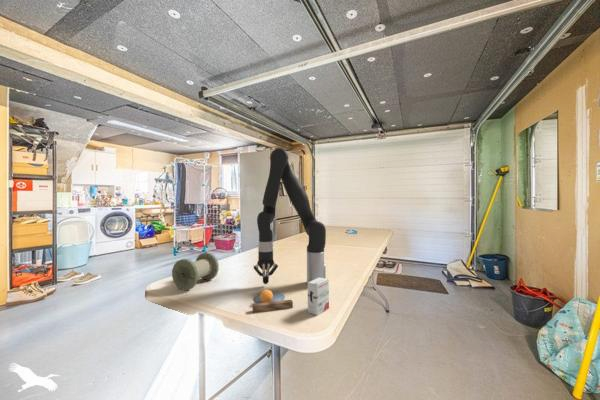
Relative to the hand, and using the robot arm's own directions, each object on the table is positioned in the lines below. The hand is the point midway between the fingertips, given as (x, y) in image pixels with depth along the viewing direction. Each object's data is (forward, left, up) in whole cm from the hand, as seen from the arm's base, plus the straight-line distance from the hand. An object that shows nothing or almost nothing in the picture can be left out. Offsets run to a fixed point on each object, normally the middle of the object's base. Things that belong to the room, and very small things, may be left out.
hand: (265, 283), depth 114 cm
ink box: (-18, +31, -2) cm, 35 cm away
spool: (+35, -13, -2) cm, 37 cm away
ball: (+2, +19, +1) cm, 19 cm away
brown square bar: (0, +25, -2) cm, 25 cm away
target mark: (0, +14, -2) cm, 14 cm away
